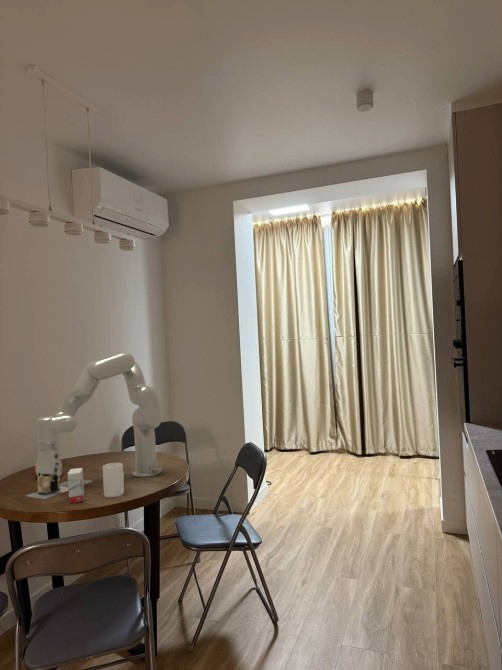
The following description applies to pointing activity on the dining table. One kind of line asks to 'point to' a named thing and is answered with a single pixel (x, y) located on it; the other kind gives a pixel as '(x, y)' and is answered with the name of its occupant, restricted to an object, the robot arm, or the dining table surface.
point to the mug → (113, 479)
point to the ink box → (76, 485)
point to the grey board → (62, 489)
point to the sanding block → (46, 484)
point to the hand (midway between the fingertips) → (49, 489)
